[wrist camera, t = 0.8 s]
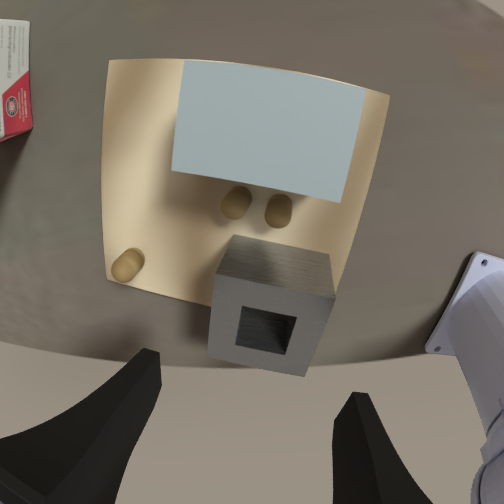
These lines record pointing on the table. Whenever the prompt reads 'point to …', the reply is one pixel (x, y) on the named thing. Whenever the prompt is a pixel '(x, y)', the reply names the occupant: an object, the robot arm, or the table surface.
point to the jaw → (269, 305)
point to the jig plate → (205, 192)
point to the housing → (266, 127)
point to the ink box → (14, 79)
